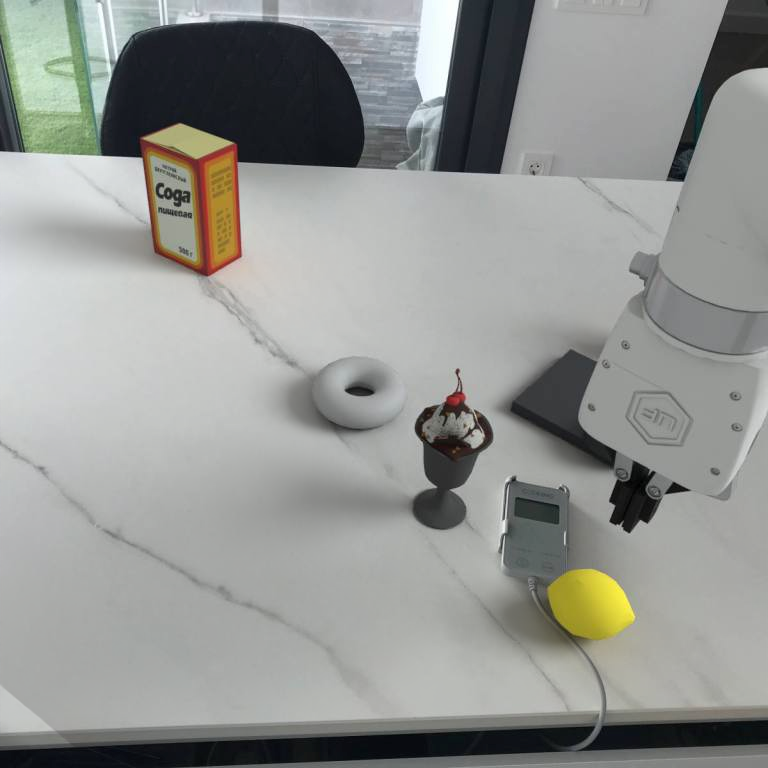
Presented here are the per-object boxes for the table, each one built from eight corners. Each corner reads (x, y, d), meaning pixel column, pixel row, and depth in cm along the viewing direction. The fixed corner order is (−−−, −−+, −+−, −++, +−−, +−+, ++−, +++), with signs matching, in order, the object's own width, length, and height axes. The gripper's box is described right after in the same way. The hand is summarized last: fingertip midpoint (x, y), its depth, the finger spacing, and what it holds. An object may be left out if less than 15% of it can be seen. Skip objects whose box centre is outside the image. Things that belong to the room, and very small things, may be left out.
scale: (680, 413, 85) (689, 392, 83) (624, 481, 76) (633, 460, 75) (567, 358, 92) (573, 337, 90) (504, 415, 83) (510, 394, 81)
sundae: (440, 471, 76) (462, 349, 66) (489, 514, 72) (520, 391, 62) (389, 501, 72) (404, 377, 63) (437, 548, 68) (461, 423, 59)
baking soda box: (154, 252, 103) (139, 134, 93) (189, 233, 107) (178, 119, 97) (208, 276, 99) (198, 157, 89) (241, 256, 104) (236, 140, 93)
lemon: (533, 634, 62) (547, 594, 59) (547, 583, 66) (561, 543, 63) (619, 667, 61) (639, 628, 57) (629, 613, 65) (648, 573, 61)
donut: (381, 449, 78) (420, 391, 85) (383, 424, 75) (423, 367, 82) (294, 416, 80) (338, 363, 87) (294, 391, 78) (339, 338, 85)
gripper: (567, 276, 45) (512, 492, 57) (832, 392, 38) (708, 610, 50) (624, 234, 50) (563, 441, 61) (869, 330, 43) (748, 543, 55)
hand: (628, 516), depth 56 cm, fingers closed
